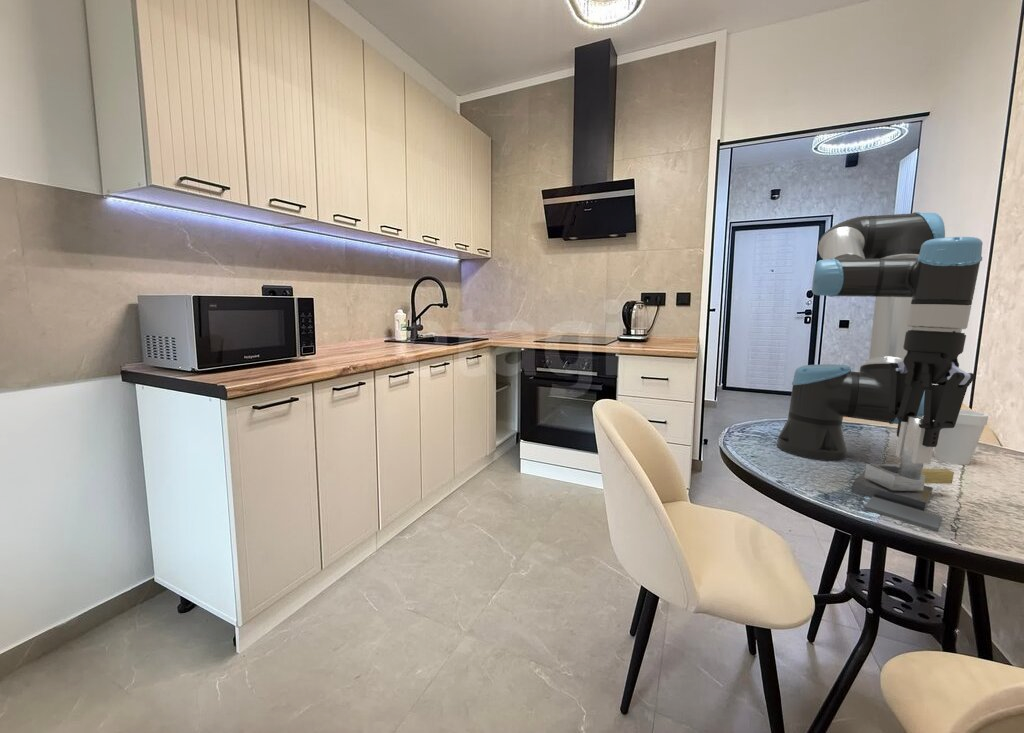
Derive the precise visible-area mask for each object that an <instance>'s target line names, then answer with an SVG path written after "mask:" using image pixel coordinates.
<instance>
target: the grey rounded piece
mask: <svg viewBox="0 0 1024 733" xmlns="http://www.w3.org/2000/svg"><path fill="white" fill-rule="evenodd" d="M988 420H989V415H988V414H987V413H984V412H979V411H976V410H971V409H963V408H961V409H960V412H959V415H958V418H957V421H956V424H955V427H954V428H943V429H941V430H940V432H939V438H938V441H937V442H938V443H937V446H936V447H933V454H934V455H933V456H935V457H934V458H935V459H937V460H939V461H941V462H945V463H948V464H949V463H950V464H954V465H955V464H956V465H959V466H960V465H961V466H962V465H964V466H966V465H969V464H970V462H971V461H972V459H973V456H974V453H975V451H976V449H977V446H978V443H979V441H980V438H981V436H982V435H983V434H982V433H984V432H983V431H984V430H985V427H986V426H987V425H988Z"/></svg>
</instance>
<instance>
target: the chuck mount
mask: <svg viewBox="0 0 1024 733" xmlns="http://www.w3.org/2000/svg"><path fill="white" fill-rule="evenodd" d="M865 471H866V470H863V471H862V473H861V474H860V475H859V476H858V477H856V479H855V480H854V481H853V482H852V484H851V485H852V486H851V491H850V492H851V493H855V494H858V495H861V496H865V497H869V498H871V497H872V496H873V497H876V498H880V499H883V500H887V501H890V502H894V503H897V504H901V505H904V506H908V507H911V508H915V509H918V510H922V511H926V509H927V507H928V504H929V503H930V501H931V498H932V495H933V489H934V488H933V486H928V485H924V489H923V491H904V490H891V489H889V488H887V487H884V486H882V485H880V484H878V483H876V482H874V481H871V480H869V479H867V478H865Z"/></svg>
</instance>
